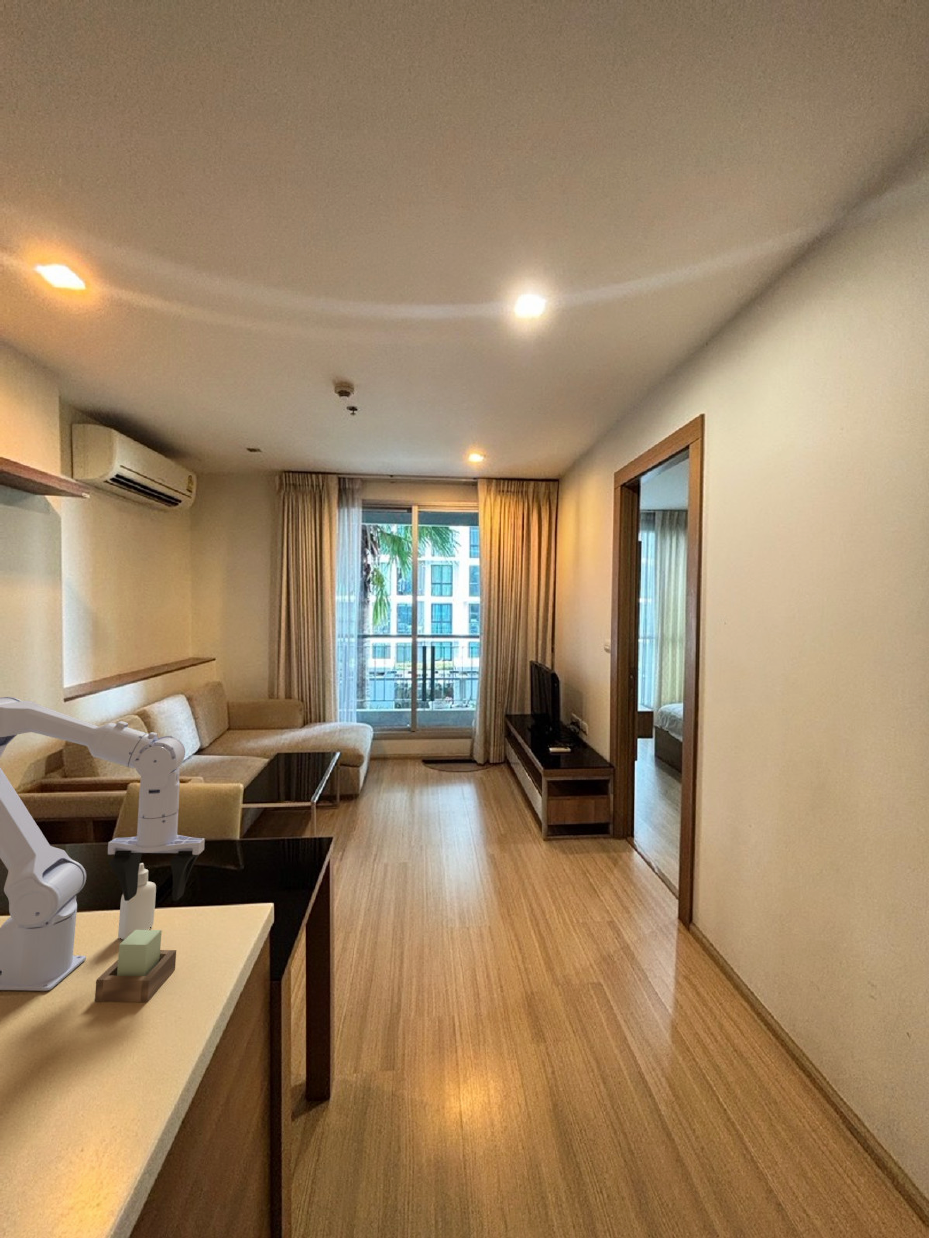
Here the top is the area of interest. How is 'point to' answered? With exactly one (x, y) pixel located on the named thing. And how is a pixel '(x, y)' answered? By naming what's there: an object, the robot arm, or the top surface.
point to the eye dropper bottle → (138, 907)
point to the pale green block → (139, 953)
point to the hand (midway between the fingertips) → (154, 897)
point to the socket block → (134, 981)
